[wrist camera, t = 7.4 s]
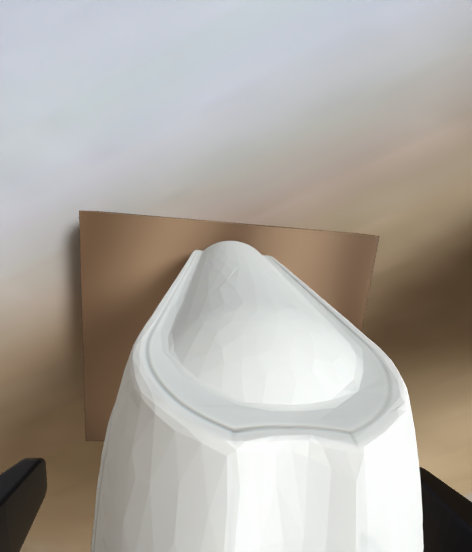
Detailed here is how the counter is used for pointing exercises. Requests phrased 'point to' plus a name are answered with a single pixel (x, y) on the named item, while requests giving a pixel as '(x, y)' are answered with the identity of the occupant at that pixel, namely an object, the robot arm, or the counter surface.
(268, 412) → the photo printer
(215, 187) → the counter surface
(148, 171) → the counter surface
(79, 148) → the counter surface
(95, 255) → the walnut stand
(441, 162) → the counter surface
